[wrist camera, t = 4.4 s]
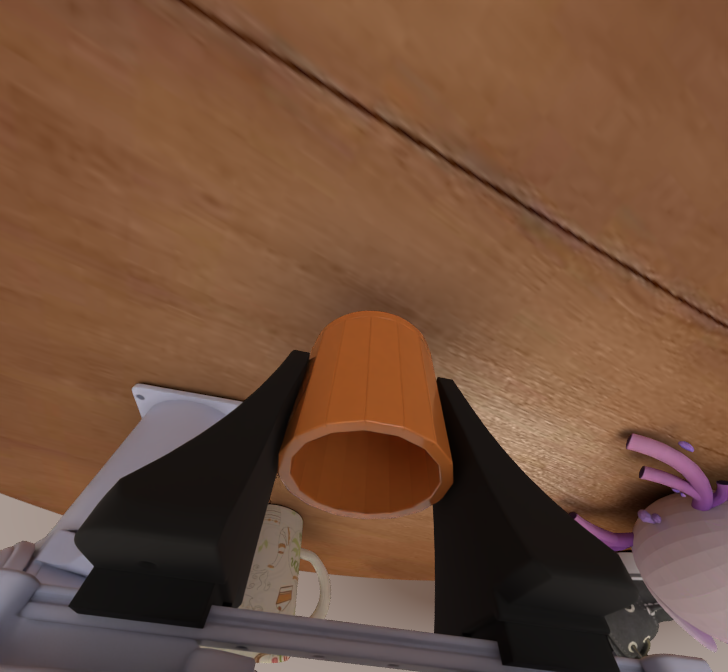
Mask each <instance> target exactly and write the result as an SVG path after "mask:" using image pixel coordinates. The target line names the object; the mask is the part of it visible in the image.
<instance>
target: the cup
mask: <svg viewBox="0 0 728 672" xmlns="http://www.w3.org/2000/svg"><path fill="white" fill-rule="evenodd" d="M277 473H278V475H279V477H280V478H281V480H282V481H283V483H284V485H285V486H286V488H287V489H288V491H290V492H291V493H292V494H294V495H295V496H296V497H298V498H299V499H301V500H302V501H304V502H305V503H307V504H308V505H310V506H313V507H315V508H318V509H321V510H324V511H326V512H329V513H332V514H336V515H340V516H347V517H354V518H360V519H383V518H396V517H400V516H404V515H409V514H413V513H417V512H420V511H422V510H424V509H426V508H428V507H429V506H431V505H433V504H435V503H437V502H438V501H440V500H441V499H442V498H443V497H444V496H445V494H446V493H447V491H448V490H449V489H450V487H451V486H452V484H453V482H454V476H453V461H452V456H451V451H450V446H449V441H448V436H447V431H446V426H445V422H444V417H443V412H442V407H441V402H440V397H439V392H438V387H437V382H436V377H435V372H434V367H433V362H432V357H431V353H430V350H429V347H428V344H427V342H426V340H425V338H424V336H423V335H422V334H421V333H420V331H419V330H418V329H417V328H416V327H415V326H413V325H412V324H411V323H409V322H408V321H406V320H404V319H403V318H401V317H398V316H396V315H393V314H390V313H386V312H380V311H358V312H354V313H350V314H347V315H344V316H341V317H339V318H337V319H336V320H334V321H332V322H331V323H330V324H328V325H327V326H326V327H325V328H324V329H323V330H322V331H321V333H320V334H319V336H318V337H317V339H316V342H315V344H314V346H313V348H312V350H311V354H310V357H309V362H308V365H307V368H306V371H305V374H304V377H303V380H302V383H301V385H300V388H299V391H298V394H297V397H296V400H295V404H294V407H293V410H292V413H291V416H290V419H289V422H288V425H287V429H286V432H285V435H284V438H283V441H282V444H281V447H280V450H279V454H278V469H277Z"/></svg>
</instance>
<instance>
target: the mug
mask: <svg viewBox="0 0 728 672" xmlns="http://www.w3.org/2000/svg"><path fill="white" fill-rule="evenodd" d="M302 529H303V520H302V518H301V516H300V515H299V514H298V513H296V512H295V511H293V510H291V509H289V508H286V507H283V506H278V505H271V504H268V506H267V510H266V513H265V517H264V521H263V524H262V528H261V532H260V536H259V540H258V543H257V547H256V551H255V555H254V558H253V562H252V566H251V570H250V574H249V578H248V582H247V586H246V590H245V593H244V597H243V601H242V604H241V605H240V606H239V607H238V608H239V609H247V610H255V611H262V612H270V613H278V614H286V615H294V616H295V607H296V595H297V584H298V574H299V563H300V558H301V559H304V560H307V561H310V562H311V563H312V565H313V566H314V568H315V570H316V572H317V575H318V579H319V583H320V598H319V602H318V605H317V607H316V609H315V611H314V612H313V614H312V615H311V616H310V618H318V619H325V617H326V615H327V612H328V609H329V605H330V599H331V585H330V579H329V575H328V572H327V570H326V568H325V566H324V565H323V563H322V561H321V560H320V558H319V557H318V556H317V555H316V554H315V553H314V552H312V551H309V550H307V549H303V548H301V540H302ZM200 648H212V649H217V650H222V651H226V652H230V653H235V654H239V655H243V656H247V657H251V658H254V660H255V663H278V662H284V661H287V660H288V659H289V658H290V656H283V655H274V654H266V653H257V652H249V651H240V650H232V649H223V648H215V647H206V646H200Z"/></svg>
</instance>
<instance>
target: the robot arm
mask: <svg viewBox="0 0 728 672" xmlns="http://www.w3.org/2000/svg"><path fill="white" fill-rule="evenodd" d="M309 356H310V353H308V352H303V351H298V350H294V351H292V352H291V353H290V354H289V356H288V357H287V358H286V360H285V361H284V362H283V363H282V364H281V365H280V367H279V368H278V369H277V370H276V371H275V372H274V373H273V374H272V375H271V376H270V377H269V378H268V379H267V380H266V381H265V382H264V383H263V384H262V385H261V386H260V387H259V388H258V389H257V390H256V391H255V392H254V393H253V394H252V395H250V396H249V397H248V398H247V399H246V400H245V401H244V402H242V401H236V400H230V399H225V398H219V397H213V396H208V395H202V394H197V393H191V392H185V391H180V390H174V389H168V388H163V387H157V386H151V385H146V384H136V385H135V386H134V387H133V388H132V392H133V395H134V398H135V400H136V403H137V406H138V409H139V411H140V414H141V417H142V420H141V421H140V422H139V423H138V425H137V426H136V427H135V428H134V430H133V431H132V432H131V433H130V434H129V436H128V437H127V438H126V439H125V441H124V442H123V443H122V444H121V445H120V447H119V448H118V449H117V450H116V452H115V453H114V454H113V455H112V456H111V458H110V459H109V460H108V461H107V462H106V464H105V465H104V466H103V467H102V469H101V470H100V471H99V472H98V473H97V475H96V476H95V477H94V478H93V480H92V481H91V482H90V483H89V484H88V486H87V487H86V488H85V489H84V491H83V492H82V493H81V494H80V495H79V497H78V498H77V499H76V500H75V502H74V503H73V504H72V505H71V506H70V508H69V509H68V510H67V511H66V513H65V514H64V515H63V516H62V518H61V519H60V520H59V521H58V522H57V524H56V525H55V526H54V527H53V528H52V530H51V531H50V532H49V533H48V535H47V536H46V537H45V538H43V539H42V540H39V541H38V542H36V543H35V544H33V543H30V542H27V541H21V542H19V543H16V544H15V545H14V546H12V547H8V548H5V549H3V550H0V672H257V671H256V670H254V667H255V660H254V658H251V657H247V656H243V655H239V654H235V653H230V652H226V651H222V650H217V649H212V648H200V646H206V647H215V648H223V649H232V650H240V651H249V652H257V653H266V654H274V655H283V656H292V657H300V658H309V659H317V660H325V661H334V662H342V663H351V664H360V665H368V666H377V667H385V668H393V669H402V670H410V671H419V672H712V670H711V668H710V667H709V665H708V663H707V662H706V661H705V660H703V659H702V658H697V657H688V656H680V655H673V654H653V655H648V656H645V657H642V658H641V659H632V658H624V657H617V656H614V655H613V653H612V651H611V648H610V646H609V644H608V641H607V639H606V637H605V635H608V634H610V628H609V626H608V624H607V621H606V619H605V617H604V616H606V615H609V614H611V613H614V612H616V611H619V610H621V609H624V608H627V607H629V606H631V605H633V604H634V603H635V602H636V601H637V600H638V598H639V591H638V589H637V587H636V585H635V583H634V582H633V580H632V578H631V576H630V574H629V572H628V571H627V569H626V567H625V565H624V563H623V561H622V560H621V558H620V556H619V554H617V553H616V552H615V551H614V550H612V549H611V548H610V547H609V546H607V545H606V544H605V543H603V542H602V541H601V540H600V539H598V538H597V537H596V536H594V535H593V534H592V533H591V532H589V531H588V530H587V529H586V528H584V527H583V526H582V525H581V524H579V523H578V522H577V521H576V520H575V519H574V518H572V517H571V516H570V515H569V514H568V513H567V512H565V511H564V510H563V509H562V508H561V507H560V506H559V505H557V504H556V503H555V502H554V501H553V500H552V499H551V498H550V497H549V496H548V495H546V494H545V493H544V492H543V491H542V490H541V489H540V488H539V487H538V486H537V485H536V484H535V483H534V482H533V481H532V480H531V479H530V478H529V477H528V476H527V475H526V474H525V473H524V472H523V471H522V470H521V469H520V467H519V466H518V465H517V464H516V463H515V462H514V461H513V460H512V459H511V458H510V456H509V455H508V454H507V453H506V452H505V451H504V450H503V448H502V447H501V446H500V445H499V443H498V442H497V441H496V440H495V438H494V437H493V436H492V435H491V433H490V432H489V431H488V430H487V428H486V427H485V426H484V424H483V423H482V422H481V420H480V419H479V417H478V416H477V415H476V413H475V412H474V410H473V409H472V407H471V406H470V405H469V403H468V402H467V400H466V399H465V397H464V396H463V394H462V393H461V391H460V390H459V388H458V387H457V385H456V384H455V383H454V381H453V380H451V379H446V378H440V377H438V378H437V380H436V382H437V387H438V392H439V397H440V402H441V407H442V412H443V417H444V422H445V426H446V431H447V436H448V441H449V446H450V451H451V456H452V461H453V476H454V482H453V484H452V486H451V487H450V489H449V490H448V491H447V493H446V494H445V496H444V497H443V498H442V499H441V500H440V501H438V502H437V503H435V504H433V518H434V544H435V622H434V623H435V624H434V633H427V632H419V631H412V630H404V629H396V628H388V627H380V626H373V625H365V624H357V623H349V622H341V621H333V620H325V619H318V618H310V617H302V616H294V615H286V614H278V613H270V612H262V611H255V610H247V609H239V608H238V607H239V606H240V605H241V604H242V601H243V597H244V593H245V590H246V586H247V582H248V578H249V574H250V570H251V566H252V562H253V558H254V555H255V551H256V547H257V543H258V540H259V536H260V532H261V528H262V524H263V521H264V517H265V513H266V510H267V506H268V502H269V499H270V495H271V492H272V488H273V485H274V481H275V477H276V474H277V469H278V454H279V450H280V447H281V444H282V441H283V438H284V435H285V432H286V429H287V425H288V422H289V419H290V416H291V413H292V410H293V407H294V404H295V400H296V397H297V394H298V391H299V388H300V385H301V383H302V380H303V377H304V374H305V371H306V368H307V365H308V362H309Z"/></svg>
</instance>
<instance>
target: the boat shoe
mask: <svg viewBox="0 0 728 672" xmlns="http://www.w3.org/2000/svg"><path fill="white" fill-rule="evenodd" d="M617 554H619V556H620V558H621V560H622V561H623V563H624V565H625V567H626V569H627V571H628V572H629V574H630V576H631V578H632V580H633V582H634V583H635V585H636V587H637V589H638V591H639V598H638V600H637V601H636V602H635V603H634V604H633V605H631V606H629V607H627V608H624V609H621V610H619V611H616V612H614V613H611V614H609V615H606V616H604V617H605V619H606V621H607V624H608V626H609V628H610V634H608V635H605V637H606V639H607V641H608V644H609V646H610V648H611V651H612V653H613V655H614V656H617V657H624V658H632V659H641V658H642V657H645V656H648V655H647V653H648V651H649V649H650V641H651V640H652V639H653V638H654V637H655V636H656V634H657V632H658V628H659V624H658V623H660V622H663V621H671V620H674V619H673V618H672V617H671V616H670V615H669V614H668V613H667V612H666V611H665V610H664V609H663V608H662V607H661V606H660V604H659V603H658V602H657V601H656V599H655V598H654V597H653V595H652V594H651V592H650V591H649V589H648V588H647V586H646V584H645V583H644V581H643V579H642V577H641V574H640V572H639V570H638V568H637V566H636V564H635V561H634V557H633V553H632V552H619V553H617Z"/></svg>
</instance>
